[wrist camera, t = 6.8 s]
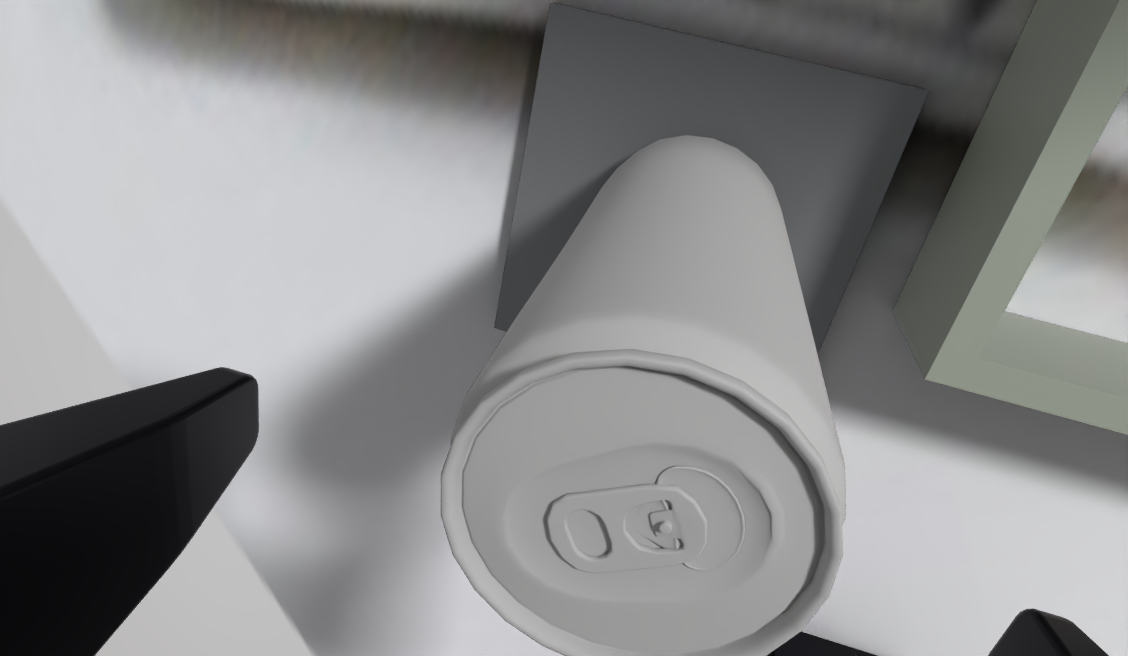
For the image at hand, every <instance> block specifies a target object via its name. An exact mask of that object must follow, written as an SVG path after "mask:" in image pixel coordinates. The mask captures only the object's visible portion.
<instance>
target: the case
mask: <svg viewBox="0 0 1128 656" xmlns="http://www.w3.org/2000/svg"><path fill="white" fill-rule="evenodd" d="M1127 86H1128V0H1037V1H1036V4H1035V6H1034V8H1033V10H1032V12H1031V14H1030V16H1029V19H1028V21H1027V23H1026V25H1025V27H1024V29H1023V32H1022V34H1021V36H1020V38H1019V40H1018V42H1017V44H1016V47H1015V49H1014V51H1013V53H1012V55H1011V57H1010V59H1009V62H1008V64H1007V66H1006V68H1005V70H1004V72H1003V75H1002V77H1001V79H1000V81H999V83H998V85H997V87H996V90H995V92H994V94H993V96H992V98H991V100H990V103H989V105H988V107H987V109H986V111H985V113H984V115H983V118H982V120H981V122H980V124H979V126H978V128H977V131H976V133H975V135H974V137H973V139H972V141H971V143H970V146H969V148H968V150H967V152H966V154H965V156H964V159H963V161H962V163H961V165H960V167H959V169H958V171H957V174H956V176H955V178H954V180H953V182H952V184H951V186H950V189H949V191H948V193H947V195H946V197H945V199H944V202H943V204H942V206H941V208H940V210H939V212H938V214H937V217H936V219H935V221H934V223H933V225H932V227H931V230H930V232H929V234H928V236H927V238H926V240H925V242H924V245H923V247H922V249H921V251H920V253H919V255H918V258H917V260H916V262H915V264H914V266H913V268H912V270H911V273H910V275H909V277H908V279H907V281H906V283H905V285H904V288H903V290H902V292H901V294H900V296H899V298H898V301H897V303H896V305H895V307H894V309H893V311H892V313H893V315H894V317H895V319H896V321H897V323H898V325H899V327H900V329H901V331H902V333H903V336H904V338H905V340H906V342H907V344H908V346H909V348H910V350H911V352H912V354H913V356H914V358H915V360H916V362H917V364H918V366H919V368H920V371H921V373H922V375H923V377H924V379H925V380H929V381H932V382H936V383H940V384H943V385H947V386H951V387H954V388H958V389H962V390H965V391H969V392H973V393H976V394H980V395H984V396H987V397H991V398H995V399H998V400H1002V401H1006V402H1009V403H1013V404H1016V405H1020V406H1024V407H1027V408H1031V409H1035V410H1038V411H1042V412H1046V413H1049V414H1053V415H1057V416H1060V417H1064V418H1068V419H1071V420H1075V421H1079V422H1082V423H1086V424H1090V425H1093V426H1097V427H1101V428H1104V429H1108V430H1112V431H1115V432H1119V433H1122V434H1126V435H1128V344H1127V343H1124V342H1120V341H1116V340H1112V339H1108V338H1104V337H1101V336H1097V335H1093V334H1089V333H1085V332H1081V331H1078V330H1074V329H1070V328H1066V327H1062V326H1058V325H1055V324H1051V323H1047V322H1043V321H1039V320H1035V319H1032V318H1028V317H1024V316H1020V315H1016V314H1012V313H1009V312H1005V309H1006V307H1007V306H1008V304H1009V302H1010V300H1011V298H1012V296H1013V295H1014V293H1015V291H1016V289H1017V287H1018V285H1019V284H1020V282H1021V280H1022V278H1023V276H1024V275H1025V273H1026V271H1027V269H1028V267H1029V265H1030V264H1031V262H1032V260H1033V258H1034V256H1035V254H1036V253H1037V251H1038V249H1039V247H1040V245H1041V243H1042V242H1043V240H1044V238H1045V236H1046V234H1047V232H1048V231H1049V229H1050V227H1051V225H1052V223H1053V222H1054V220H1055V218H1056V216H1057V214H1058V212H1059V211H1060V209H1061V207H1062V205H1063V203H1064V201H1065V200H1066V198H1067V196H1068V194H1069V192H1070V190H1071V189H1072V187H1073V185H1074V183H1075V181H1076V180H1077V178H1078V176H1079V174H1080V172H1081V170H1082V169H1083V167H1084V165H1085V163H1086V161H1087V159H1088V158H1089V156H1090V154H1091V152H1092V150H1093V148H1094V147H1095V145H1096V143H1097V141H1098V139H1099V138H1100V136H1101V134H1102V132H1103V130H1104V128H1105V127H1106V125H1107V123H1108V121H1109V119H1110V117H1111V116H1112V114H1113V112H1114V110H1115V108H1116V106H1117V105H1118V103H1119V101H1120V99H1121V97H1122V95H1123V94H1124V92H1125V90H1126V88H1127Z"/></svg>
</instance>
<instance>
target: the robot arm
mask: <svg viewBox="0 0 1128 656" xmlns="http://www.w3.org/2000/svg"><path fill="white" fill-rule="evenodd" d="M258 432H259V407H258V384H257V381H256V379H255V378H254V377H253V376H252V375H249V374H246V373H243V372H239V371H236V370H233V369H229V368H224V367H220V368H215V369H212V370H208V371H204V372H200V373H196V374H193V375H189V376H185V377H181V378H178V379H174V380H170V381H166V382H162V383H159V384H155V385H151V386H147V387H143V388H140V389H136V390H132V391H128V392H125V393H121V394H117V395H113V396H110V397H106V398H102V399H98V400H94V401H90V402H87V403H83V404H79V405H75V406H71V407H68V408H64V409H60V410H57V411H53V412H49V413H45V414H42V415H37V416H34V417H30V418H26V419H22V420H18V421H15V422H11V423H7V424H4V425H0V656H95V655H96V653H97V652H98V651H99V650H100V649H101V648H102V646H103V645H104V644H105V643H106V642H107V641H108V639H109V638H110V637H111V636H112V635H113V633H114V632H115V631H116V630H117V629H118V628H119V626H120V625H121V624H122V623H123V622H124V620H125V619H126V618H127V617H128V616H129V614H130V613H131V612H132V611H133V610H134V609H135V608H136V606H137V605H138V604H139V603H140V602H141V600H142V599H143V598H144V597H145V596H146V595H147V593H148V592H149V591H150V589H152V587H153V586H154V585H155V584H156V583H157V581H158V580H159V579H160V578H161V577H162V576H163V575H164V573H165V572H166V571H167V570H168V569H169V567H170V566H171V565H172V563H173V562H174V561H175V560H176V559H177V557H178V556H179V555H180V554H181V552H182V551H183V550H184V548H185V547H186V546H187V544H188V543H189V541H190V540H191V539H192V537H193V536H194V535H195V533H196V532H197V530H198V528H199V527H200V526H201V524H202V523H203V521H204V520H205V519H206V517H207V515H208V514H209V513H210V511H211V510H212V508H213V507H214V505H215V504H216V502H217V501H218V500H219V498H220V497H221V495H222V494H223V492H224V491H225V489H226V488H227V486H228V485H229V483H230V482H231V481H232V479H233V478H234V476H235V475H236V473H237V472H238V470H239V469H240V467H241V466H242V464H243V463H244V462H245V460H246V459H247V457H248V456H249V454H250V453H251V451H252V450H253V448H254V446H255V443H256V441H257V437H258ZM767 656H876V655H873V654H870V653H867V652H863V651H860V650H857V649H854V648H851V647H848V646H844V645H841V644H838V643H835V642H832V641H829V640H825V639H822V638H819V637H816V636H813V635H810V634H806V633H803V632H799V633H798V634H796V635H795V636H794V637H792V638H791V639H789V640H788V641H787V642H785V643H784V644H782V645H781V646H779V647H778V648H777V649H775V650H774V651H772V652H771V653H769V654H768V655H767ZM988 656H1109V655H1108V654H1106V653H1105V652H1104V651H1103V650H1102V649H1101V648H1100V647H1099V646H1098V645H1097V644H1096V643H1095V642H1093V641H1092V640H1091V639H1090V638H1089V637H1088V636H1087V635H1086V634H1085V633H1084V632H1083V631H1082V630H1080V629H1079V628H1078V627H1077V626H1076V625H1075V624H1074V623H1073V622H1071V621H1069V620H1068V619H1066V618H1063V617H1060V616H1056V615H1053V614H1050V613H1046V612H1043V611H1040V610H1036V609H1026V610H1023V611H1022V612H1020V613H1019V614H1018V615H1017V616H1016V617H1015V619H1014V620H1013V622H1012V623H1011V624H1010V626H1009V627H1008V628H1007V630H1006V631H1005V633H1004V634H1003V635H1002V637H1001V638H1000V639H999V641H998V642H997V644H996V645H995V646H994V648H993V649H992V650H991V652H990V653H989V655H988Z"/></svg>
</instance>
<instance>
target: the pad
mask: <svg viewBox="0 0 1128 656" xmlns="http://www.w3.org/2000/svg"><path fill="white" fill-rule="evenodd" d="M928 92H929V91H927V90H925V89H924V88H919V87H915V86H911V85H906V84H902V83H898V82H894V81H889V80H885V79H881V78H876V77H872V76H868V75H863V74H859V73H855V72H851V71H846V70H842V69H838V68H833V67H829V66H825V65H820V64H816V63H812V62H807V61H803V60H799V59H795V58H790V57H786V56H782V55H777V54H773V53H769V52H764V51H760V50H756V49H751V48H747V47H743V46H739V45H734V44H730V43H726V42H721V41H717V40H713V39H708V38H704V37H700V36H696V35H691V34H687V33H683V32H678V31H674V30H670V29H665V28H661V27H657V26H652V25H648V24H644V23H640V22H635V21H631V20H627V19H622V18H618V17H614V16H609V15H605V14H601V13H597V12H592V11H588V10H584V9H579V8H575V7H571V6H566V5H562V4H558V3H550V6H549V12H548V18H547V23H546V29H545V35H544V41H543V47H542V53H541V58H540V64H539V70H538V76H537V82H536V87H535V93H534V99H533V105H532V111H531V117H530V122H529V128H528V134H527V140H526V146H525V152H524V157H523V163H522V169H521V175H520V181H519V186H518V192H517V198H516V204H515V210H514V216H513V221H512V227H511V233H510V239H509V245H508V251H507V256H506V262H505V268H504V274H503V280H502V285H501V291H500V297H499V303H498V309H497V315H496V320H495V326H494V328H497V329H500V330H504V331H508V329H509V328H510V326H511V325H512V323H513V322H514V320H515V319H516V317H517V316H518V314H519V313H520V311H521V310H522V308H523V307H524V305H525V304H526V302H527V301H528V300H529V298H530V297H531V295H532V294H533V292H534V291H535V289H536V288H537V286H538V285H539V283H540V282H541V280H542V279H543V277H544V276H545V274H546V273H547V272H548V270H549V269H550V267H551V266H552V264H553V263H554V261H555V260H556V258H557V257H558V255H559V254H560V252H561V251H562V249H563V248H564V246H565V244H566V243H567V241H568V240H569V238H570V237H571V235H572V234H573V232H574V231H575V229H576V227H577V226H578V224H579V223H580V221H581V219H582V218H583V216H584V215H585V213H586V212H587V210H588V208H589V207H590V205H591V204H592V202H593V201H594V199H595V197H596V196H597V194H598V193H599V191H600V190H601V188H602V186H603V185H604V184H605V183H606V181H607V180H608V179H609V178H610V176H611V175H612V174H613V173H614V172H615V170H616V169H617V168H618V167H619V166H620V165H621V164H623V163H624V162H625V161H626V160H627V159H628V158H630V157H631V156H632V155H633V154H634V153H636V152H637V151H639V150H640V149H642V148H644V147H646V146H648V145H650V144H652V143H654V142H656V141H658V140H660V139H665V138H671V137H677V136H684V135H690V136H699V137H707V138H713V139H716V140H718V141H721V142H723V143H726V144H728V145H730V146H733V147H735V148H737V149H739V150H740V151H741V152H743V153H744V154H745V155H746V156H748V157H749V158H750V159H752V160H753V161H754V162H755V163H757V164H758V165H759V167H760V168H761V169H762V171H763V172H764V174H765V175H766V176H767V178H768V179H769V181H770V182H771V183H772V185H773V187H774V190H775V193H776V196H777V198H778V201H779V204H780V207H781V210H782V214H783V218H784V222H785V226H786V230H787V234H788V238H789V242H790V246H791V250H792V254H793V258H794V262H795V266H796V270H797V274H798V278H799V282H800V286H801V290H802V294H803V298H804V302H805V306H806V310H807V314H808V318H809V323H810V327H811V331H812V335H813V339H814V343H815V347H816V351H817V354H818V352H819V350H820V347H821V345H822V342H823V340H824V338H825V335H826V333H827V331H828V328H829V326H830V323H831V321H832V319H833V316H834V314H835V312H836V309H837V307H838V305H839V302H840V300H841V297H842V295H843V293H844V290H845V288H846V286H847V283H848V281H849V279H850V276H851V274H852V271H853V269H854V267H855V264H856V262H857V260H858V257H859V255H860V252H861V250H862V248H863V245H864V243H865V241H866V238H867V236H868V234H869V231H870V229H871V226H872V224H873V222H874V219H875V217H876V215H877V212H878V210H879V208H880V205H881V203H882V200H883V198H884V196H885V193H886V191H887V189H888V186H889V184H890V181H891V179H892V177H893V174H894V172H895V170H896V167H897V165H898V163H899V160H900V158H901V155H902V153H903V151H904V148H905V146H906V144H907V141H908V139H909V137H910V134H911V132H912V129H913V127H914V125H915V122H916V120H917V118H918V115H919V113H920V110H921V108H922V106H923V103H924V101H925V99H926V96H927V94H928Z"/></svg>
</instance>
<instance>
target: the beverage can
mask: <svg viewBox="0 0 1128 656" xmlns="http://www.w3.org/2000/svg"><path fill="white" fill-rule="evenodd" d="M845 516H846V488H845V465H844V459H843V455H842V451H841V447H840V443H839V439H838V435H837V431H836V427H835V423H834V419H833V415H832V411H831V407H830V403H829V399H828V395H827V391H826V387H825V383H824V379H823V375H822V371H821V367H820V363H819V359H818V355H817V351H816V347H815V343H814V339H813V335H812V331H811V327H810V323H809V318H808V314H807V310H806V306H805V302H804V298H803V294H802V290H801V286H800V282H799V278H798V274H797V270H796V266H795V262H794V258H793V254H792V250H791V246H790V242H789V238H788V234H787V230H786V226H785V222H784V218H783V214H782V210H781V207H780V204H779V201H778V198H777V196H776V193H775V190H774V187H773V185H772V183H771V182H770V181H769V179H768V178H767V176H766V175H765V174H764V172H763V171H762V169H761V168H760V167H759V165H758V164H757V163H755V162H754V161H753V160H752V159H750V158H749V157H748V156H746V155H745V154H744V153H743V152H741V151H740V150H739V149H737V148H735V147H733V146H730V145H728V144H726V143H723V142H721V141H718V140H716V139H713V138H707V137H699V136H690V135H684V136H677V137H671V138H665V139H660V140H658V141H656V142H654V143H652V144H650V145H648V146H646V147H644V148H642V149H640V150H639V151H637V152H636V153H634V154H633V155H632V156H631V157H630V158H628V159H627V160H626V161H625V162H624V163H623V164H621V165H620V166H619V167H618V168H617V169H616V170H615V172H614V173H613V174H612V175H611V176H610V178H609V179H608V180H607V181H606V183H605V184H604V185H603V186H602V188H601V190H600V191H599V193H598V194H597V196H596V197H595V199H594V201H593V202H592V204H591V205H590V207H589V208H588V210H587V212H586V213H585V215H584V216H583V218H582V219H581V221H580V223H579V224H578V226H577V227H576V229H575V231H574V232H573V234H572V235H571V237H570V238H569V240H568V241H567V243H566V244H565V246H564V248H563V249H562V251H561V252H560V254H559V255H558V257H557V258H556V260H555V261H554V263H553V264H552V266H551V267H550V269H549V270H548V272H547V273H546V274H545V276H544V277H543V279H542V280H541V282H540V283H539V285H538V286H537V288H536V289H535V291H534V292H533V294H532V295H531V297H530V298H529V300H528V301H527V302H526V304H525V305H524V307H523V308H522V310H521V311H520V313H519V314H518V316H517V317H516V319H515V320H514V322H513V323H512V325H511V326H510V328H509V329H508V331H507V332H506V334H505V335H504V337H503V338H502V340H501V342H500V343H499V345H498V346H497V348H496V349H495V351H494V352H493V354H492V355H491V357H490V358H489V360H488V362H487V363H486V365H485V366H484V368H483V369H482V371H481V372H480V374H479V375H478V377H477V379H476V380H475V382H474V383H473V385H472V386H471V388H470V389H469V391H468V393H467V395H466V397H465V399H464V402H463V405H462V408H461V411H460V414H459V416H458V419H457V422H456V425H455V428H454V431H453V434H452V436H451V447H450V450H449V452H448V455H447V458H446V461H445V464H444V467H443V470H442V473H441V517H442V520H443V524H444V527H445V531H446V534H447V537H448V541H449V544H450V547H451V551H452V554H453V556H454V557H455V559H456V560H457V562H458V564H459V565H460V567H461V568H462V570H463V572H464V573H465V575H466V577H467V578H468V580H469V581H470V583H471V585H472V586H473V588H474V589H475V591H476V592H477V593H478V594H479V595H480V596H481V597H482V598H483V599H484V600H485V601H486V602H487V603H488V604H489V605H490V606H491V607H492V608H493V609H494V610H495V611H496V612H497V613H498V614H499V615H500V616H501V617H502V618H503V619H504V620H505V621H506V622H508V623H509V624H511V625H512V626H514V627H515V628H517V629H518V630H520V631H521V632H523V633H524V634H526V635H527V636H529V637H530V638H532V639H533V640H535V641H536V642H538V643H539V644H541V645H542V646H544V647H546V648H548V649H551V650H553V651H555V652H558V653H560V654H562V655H564V656H767V655H768V654H769V653H771V652H772V651H774V650H775V649H777V648H778V647H779V646H781V645H782V644H784V643H785V642H787V641H788V640H789V639H791V638H792V637H794V636H795V635H796V634H798V633H799V632H801V631H802V630H803V629H804V628H805V626H806V625H807V624H808V622H809V621H810V620H811V619H812V617H813V616H814V615H815V614H816V612H817V611H818V610H819V609H820V607H821V606H822V605H823V603H824V602H825V601H826V600H827V598H828V597H829V595H830V592H831V589H832V586H833V583H834V580H835V577H836V574H837V571H838V568H839V565H840V562H841V559H842V556H843V542H842V526H843V523H844V520H845Z"/></svg>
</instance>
